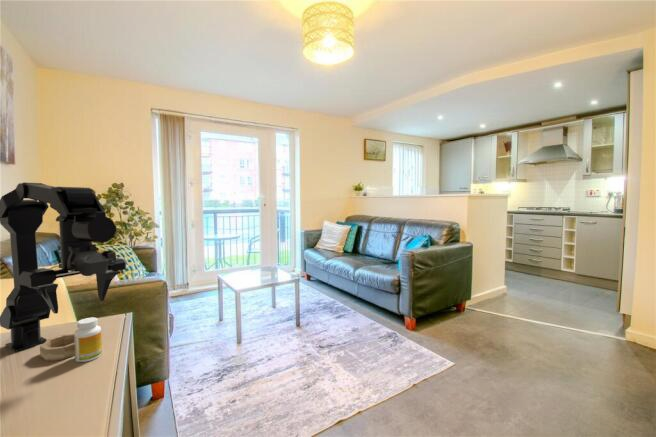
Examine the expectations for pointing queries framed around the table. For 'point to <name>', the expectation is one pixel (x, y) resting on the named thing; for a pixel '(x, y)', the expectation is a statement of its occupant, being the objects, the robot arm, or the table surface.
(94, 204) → the robot arm
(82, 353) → the supplement bottle
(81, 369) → the table surface
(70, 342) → the can holder
